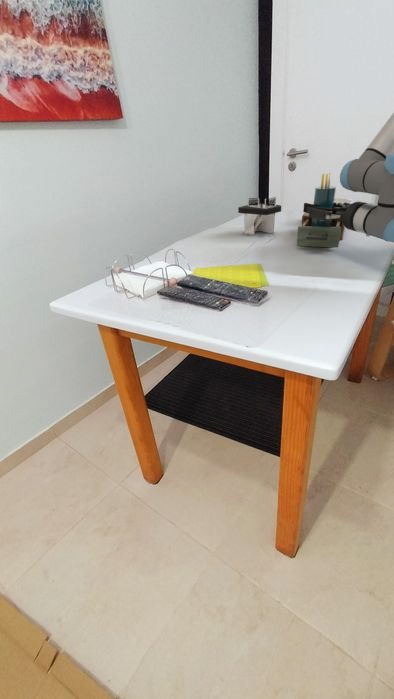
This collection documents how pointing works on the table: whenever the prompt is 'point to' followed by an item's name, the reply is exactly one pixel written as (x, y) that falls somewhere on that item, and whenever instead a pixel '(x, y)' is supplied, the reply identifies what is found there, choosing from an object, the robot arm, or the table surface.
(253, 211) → the black-topped pedestal
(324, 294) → the table surface
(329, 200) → the straw cup
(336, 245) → the drawer
